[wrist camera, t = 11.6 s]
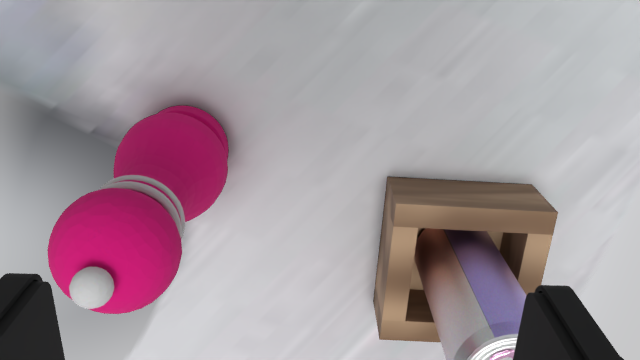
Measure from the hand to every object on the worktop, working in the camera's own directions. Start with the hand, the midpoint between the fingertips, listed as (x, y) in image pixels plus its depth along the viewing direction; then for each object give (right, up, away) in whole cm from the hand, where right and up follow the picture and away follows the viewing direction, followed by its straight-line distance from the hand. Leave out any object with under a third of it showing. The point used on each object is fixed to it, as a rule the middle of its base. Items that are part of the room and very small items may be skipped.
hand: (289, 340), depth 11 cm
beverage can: (+11, -2, +34) cm, 35 cm away
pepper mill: (-9, +6, +31) cm, 33 cm away
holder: (+11, -2, +34) cm, 36 cm away
